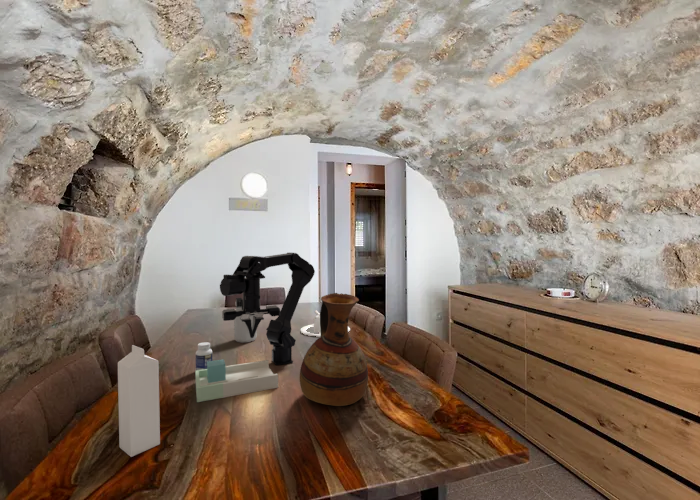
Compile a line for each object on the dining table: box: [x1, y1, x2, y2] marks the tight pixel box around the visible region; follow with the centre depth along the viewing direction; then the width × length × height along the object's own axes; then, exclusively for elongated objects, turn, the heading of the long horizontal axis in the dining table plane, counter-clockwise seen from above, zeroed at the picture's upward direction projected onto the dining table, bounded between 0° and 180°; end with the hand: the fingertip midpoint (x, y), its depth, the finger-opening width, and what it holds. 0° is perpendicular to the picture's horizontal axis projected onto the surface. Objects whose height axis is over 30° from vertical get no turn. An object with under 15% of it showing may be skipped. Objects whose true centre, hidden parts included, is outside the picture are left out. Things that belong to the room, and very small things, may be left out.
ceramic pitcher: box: [299, 292, 369, 407], centre depth 101 cm, size 20×20×30 cm
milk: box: [117, 344, 161, 458], centre depth 77 cm, size 6×6×22 cm
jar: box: [233, 307, 257, 344], centre depth 161 cm, size 10×10×18 cm
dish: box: [300, 309, 351, 338], centre depth 177 cm, size 25×25×11 cm
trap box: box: [194, 359, 279, 403], centre depth 110 cm, size 23×15×4 cm, turn 115°
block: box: [207, 358, 226, 383], centre depth 110 cm, size 5×5×5 cm
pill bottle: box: [195, 341, 213, 371], centre depth 122 cm, size 5×5×10 cm
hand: (251, 337), depth 121 cm, fingers closed
